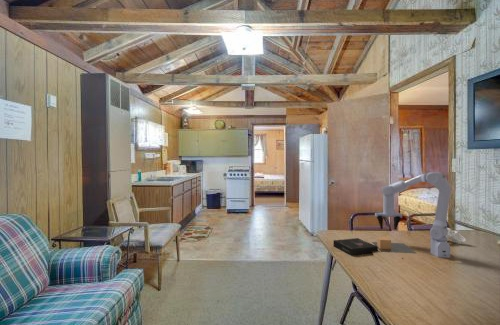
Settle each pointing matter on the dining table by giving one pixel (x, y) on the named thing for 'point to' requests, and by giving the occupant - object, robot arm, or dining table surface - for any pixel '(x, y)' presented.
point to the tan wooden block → (383, 242)
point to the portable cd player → (355, 246)
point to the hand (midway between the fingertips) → (388, 228)
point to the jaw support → (455, 236)
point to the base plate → (396, 248)
